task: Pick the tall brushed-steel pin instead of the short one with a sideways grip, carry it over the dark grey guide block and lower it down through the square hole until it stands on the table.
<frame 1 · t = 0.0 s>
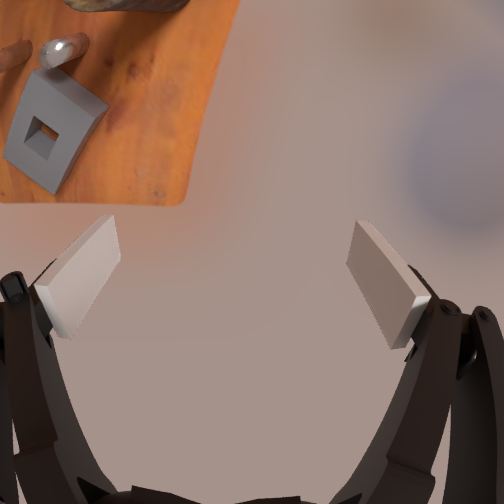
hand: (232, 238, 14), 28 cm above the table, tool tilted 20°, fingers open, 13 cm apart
long pin: (24, 50, 21), on the table
guide block: (56, 124, 33), on the table
short pin: (78, 44, 24), on the table
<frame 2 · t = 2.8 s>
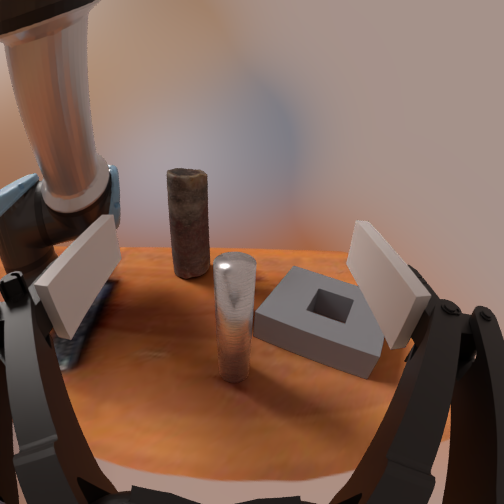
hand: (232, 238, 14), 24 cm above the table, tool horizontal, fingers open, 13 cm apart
long pin: (234, 370, 34), on the table
guide block: (324, 328, 42), on the table
brown textured cylinder: (192, 270, 55), on the table
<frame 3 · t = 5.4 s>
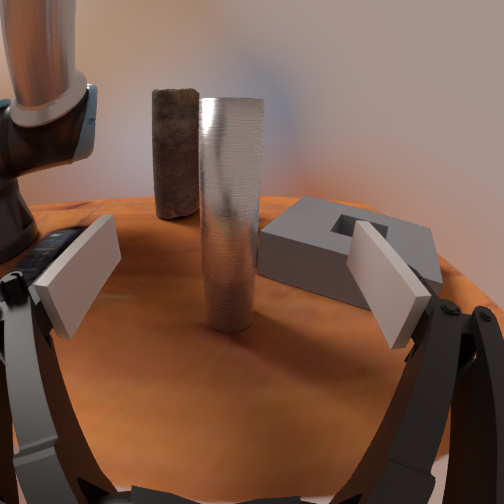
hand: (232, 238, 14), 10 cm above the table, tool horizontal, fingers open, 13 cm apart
long pin: (229, 316, 23), on the table
guide block: (352, 267, 31), on the table
brown textured cylinder: (178, 213, 44), on the table
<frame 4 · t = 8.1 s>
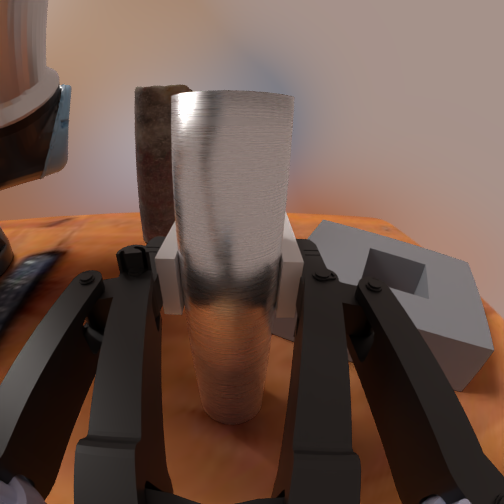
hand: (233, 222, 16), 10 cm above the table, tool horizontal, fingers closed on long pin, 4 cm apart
long pin: (231, 398, 16), on the table, touching gripper
guide block: (381, 314, 24), on the table
brown textured cylinder: (169, 236, 37), on the table
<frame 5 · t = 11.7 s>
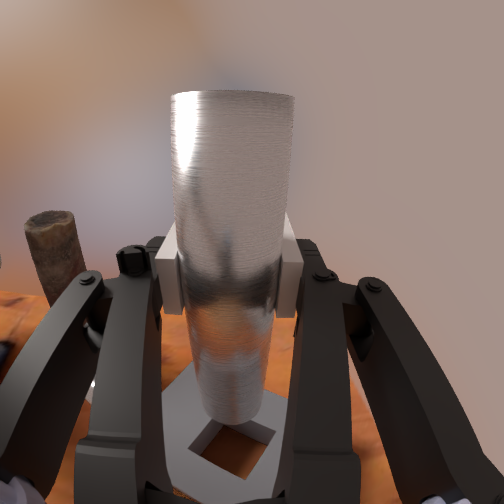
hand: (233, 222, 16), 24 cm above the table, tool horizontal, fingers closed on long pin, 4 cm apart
long pin: (231, 399, 16), point 14 cm above the table, touching gripper
guide block: (233, 455, 23), on the table
brown textured cylinder: (88, 337, 36), on the table
when the fingers open (11 cm above the table, at t = 15.5 s): long pin stays where it is, resting in guide block.
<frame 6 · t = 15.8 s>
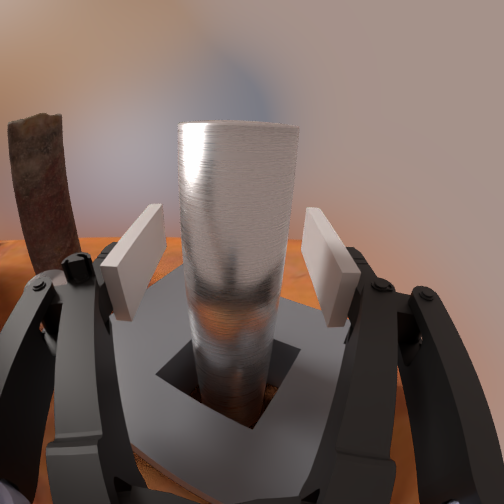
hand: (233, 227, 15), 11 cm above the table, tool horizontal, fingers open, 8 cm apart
long pin: (232, 406, 17), resting in guide block
guide block: (231, 405, 17), on the table
brown textured cylinder: (61, 270, 30), on the table
short pin: (74, 348, 19), on the table
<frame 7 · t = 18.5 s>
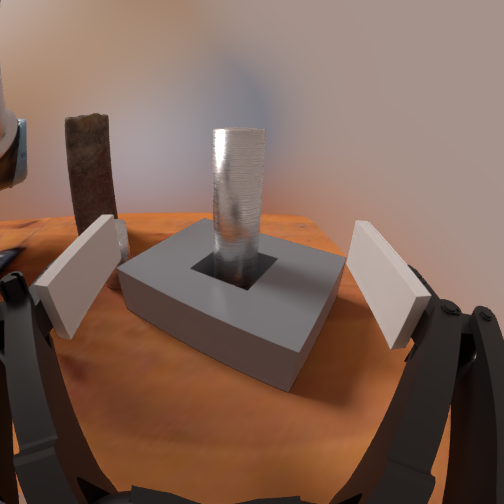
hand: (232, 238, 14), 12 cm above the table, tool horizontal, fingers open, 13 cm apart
long pin: (235, 305, 28), resting in guide block
guide block: (234, 304, 28), on the table
brown textured cylinder: (100, 235, 41), on the table
short pin: (120, 279, 31), on the table
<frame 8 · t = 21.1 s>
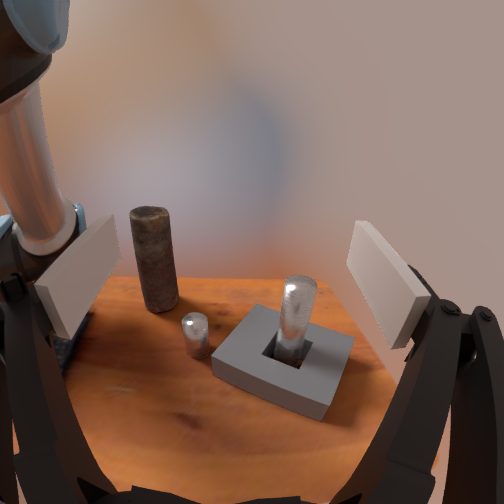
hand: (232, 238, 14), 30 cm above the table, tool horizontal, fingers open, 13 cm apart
long pin: (284, 368, 42), resting in guide block
guide block: (284, 367, 42), on the table
brown textured cylinder: (162, 302, 54), on the table
short pin: (198, 350, 44), on the table
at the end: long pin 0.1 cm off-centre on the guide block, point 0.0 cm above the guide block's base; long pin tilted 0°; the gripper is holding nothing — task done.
